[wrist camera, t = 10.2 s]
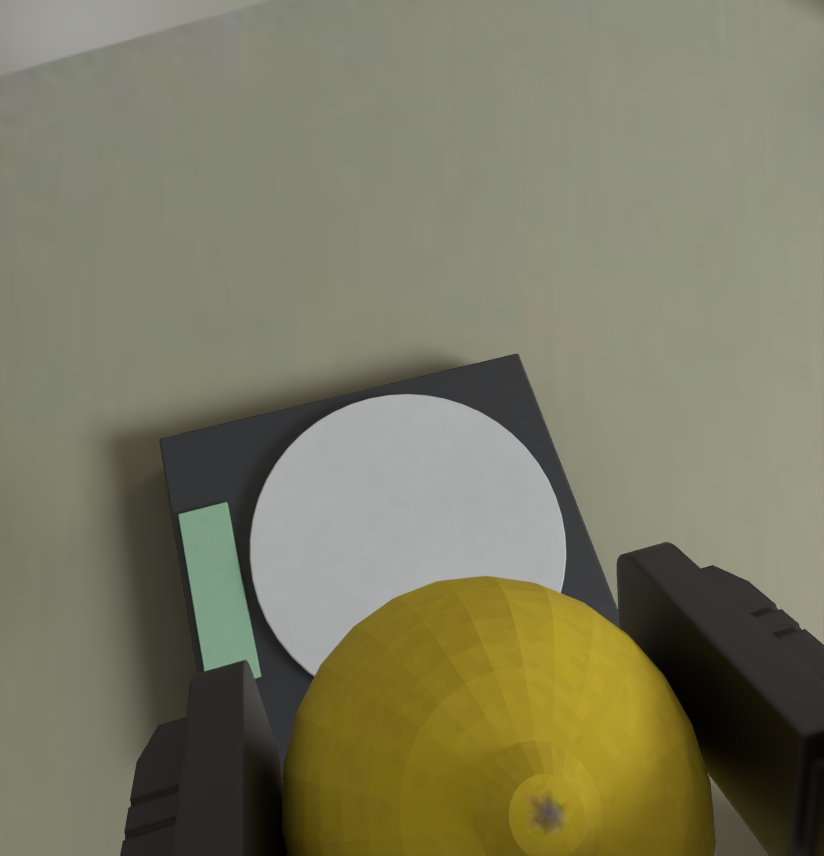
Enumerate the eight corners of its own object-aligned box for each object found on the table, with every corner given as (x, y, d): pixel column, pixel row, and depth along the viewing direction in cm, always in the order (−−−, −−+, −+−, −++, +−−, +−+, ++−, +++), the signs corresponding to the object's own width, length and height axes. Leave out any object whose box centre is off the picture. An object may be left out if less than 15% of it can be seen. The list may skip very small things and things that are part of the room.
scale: (232, 791, 24) (213, 803, 21) (175, 458, 29) (153, 432, 26) (618, 668, 26) (646, 664, 24) (508, 377, 31) (521, 345, 28)
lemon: (638, 715, 14) (941, 713, 6) (502, 1007, 12) (717, 1489, 4) (409, 565, 15) (446, 413, 7) (248, 811, 13) (79, 939, 5)
